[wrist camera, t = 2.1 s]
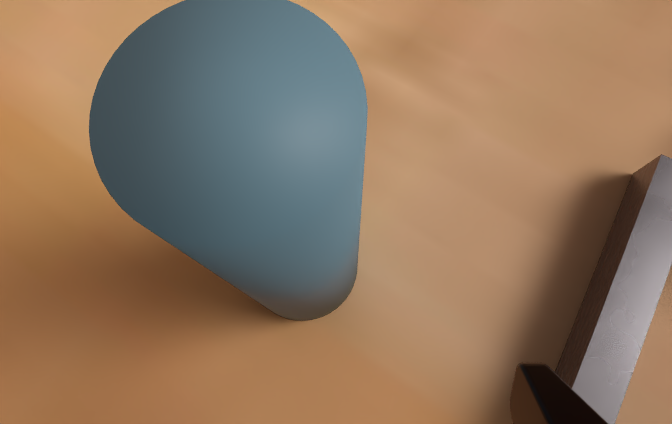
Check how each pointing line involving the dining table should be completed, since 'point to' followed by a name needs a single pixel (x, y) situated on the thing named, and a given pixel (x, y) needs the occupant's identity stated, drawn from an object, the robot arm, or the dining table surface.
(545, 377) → the robot arm
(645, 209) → the grey square frame handle
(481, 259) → the dining table surface
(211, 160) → the pin
